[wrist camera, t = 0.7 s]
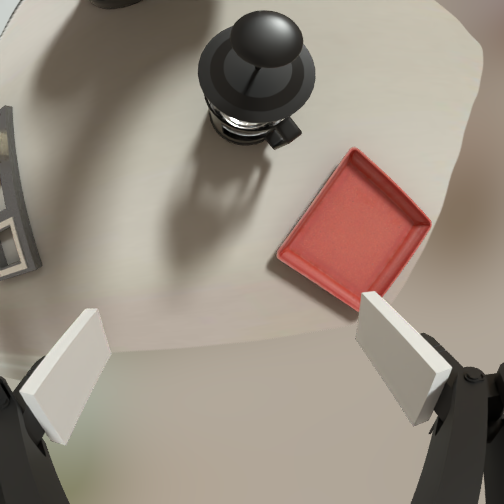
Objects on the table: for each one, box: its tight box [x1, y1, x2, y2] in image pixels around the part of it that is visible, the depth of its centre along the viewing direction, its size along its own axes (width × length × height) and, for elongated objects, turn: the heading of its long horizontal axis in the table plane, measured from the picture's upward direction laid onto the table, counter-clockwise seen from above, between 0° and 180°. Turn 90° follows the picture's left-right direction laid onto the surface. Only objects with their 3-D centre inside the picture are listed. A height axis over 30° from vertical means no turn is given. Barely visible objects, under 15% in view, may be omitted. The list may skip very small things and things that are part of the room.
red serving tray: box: [276, 147, 432, 312], centre depth 39 cm, size 18×18×3 cm
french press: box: [198, 10, 315, 150], centre depth 24 cm, size 12×9×23 cm
